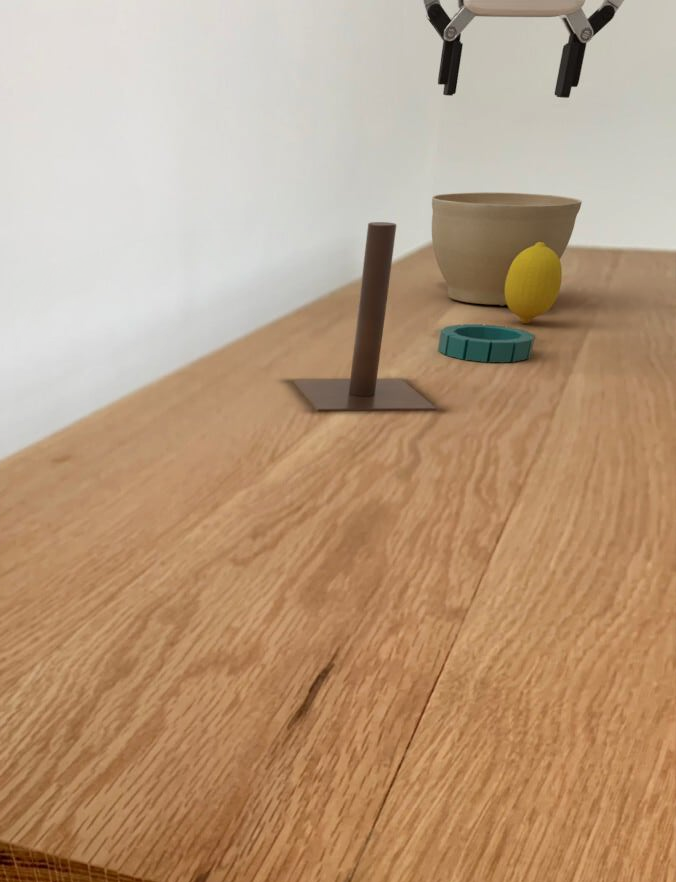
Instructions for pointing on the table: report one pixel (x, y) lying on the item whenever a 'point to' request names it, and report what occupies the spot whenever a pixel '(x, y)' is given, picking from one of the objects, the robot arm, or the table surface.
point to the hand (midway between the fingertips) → (504, 96)
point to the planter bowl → (494, 237)
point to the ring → (486, 343)
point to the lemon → (533, 282)
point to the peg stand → (368, 343)
